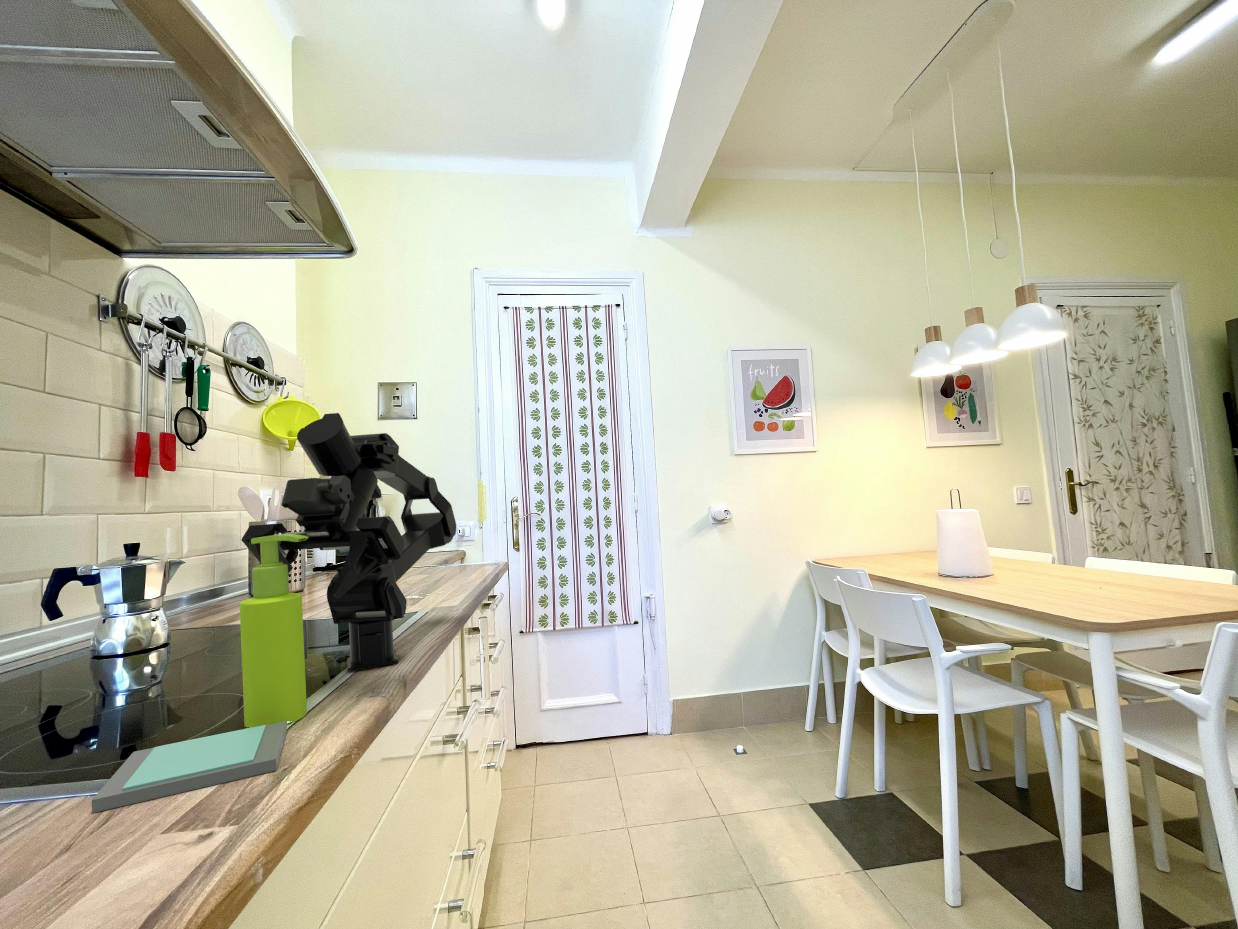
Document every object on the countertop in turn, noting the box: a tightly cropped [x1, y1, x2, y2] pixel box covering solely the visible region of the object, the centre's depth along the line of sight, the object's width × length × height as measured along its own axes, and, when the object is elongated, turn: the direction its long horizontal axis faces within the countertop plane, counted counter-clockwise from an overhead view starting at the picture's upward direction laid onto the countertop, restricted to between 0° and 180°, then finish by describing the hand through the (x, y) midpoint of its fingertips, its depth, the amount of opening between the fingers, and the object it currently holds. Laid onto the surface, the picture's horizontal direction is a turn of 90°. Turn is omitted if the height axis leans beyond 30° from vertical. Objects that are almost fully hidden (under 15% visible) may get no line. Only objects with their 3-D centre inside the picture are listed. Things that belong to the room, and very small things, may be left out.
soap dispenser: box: [239, 534, 309, 728], centre depth 64 cm, size 6×7×20 cm
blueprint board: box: [91, 721, 288, 814], centre depth 53 cm, size 10×12×1 cm
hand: (298, 597), depth 68 cm, fingers open, 9 cm apart
